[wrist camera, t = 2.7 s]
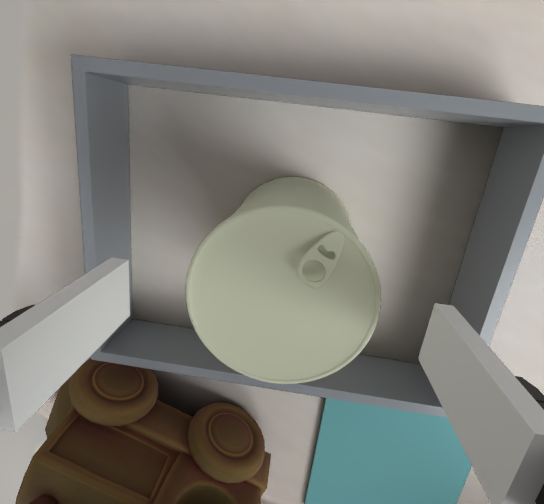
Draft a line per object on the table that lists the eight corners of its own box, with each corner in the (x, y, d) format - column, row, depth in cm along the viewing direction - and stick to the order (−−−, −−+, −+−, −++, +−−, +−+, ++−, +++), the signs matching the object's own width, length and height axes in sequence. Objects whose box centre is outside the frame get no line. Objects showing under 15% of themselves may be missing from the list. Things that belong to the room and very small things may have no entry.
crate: (437, 374, 29) (461, 420, 25) (124, 325, 31) (90, 359, 26) (520, 115, 23) (576, 109, 18) (116, 71, 24) (70, 54, 20)
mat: (443, 528, 35) (444, 533, 34) (304, 503, 35) (304, 507, 35) (486, 419, 30) (488, 422, 30) (326, 393, 31) (326, 396, 31)
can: (377, 226, 26) (431, 293, 15) (302, 311, 29) (298, 423, 17) (279, 150, 25) (255, 159, 14) (211, 246, 28) (144, 320, 16)
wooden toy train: (291, 423, 32) (275, 689, 17) (240, 497, 36) (188, 772, 20) (97, 329, 31) (-115, 520, 16) (65, 414, 35) (-133, 639, 19)
